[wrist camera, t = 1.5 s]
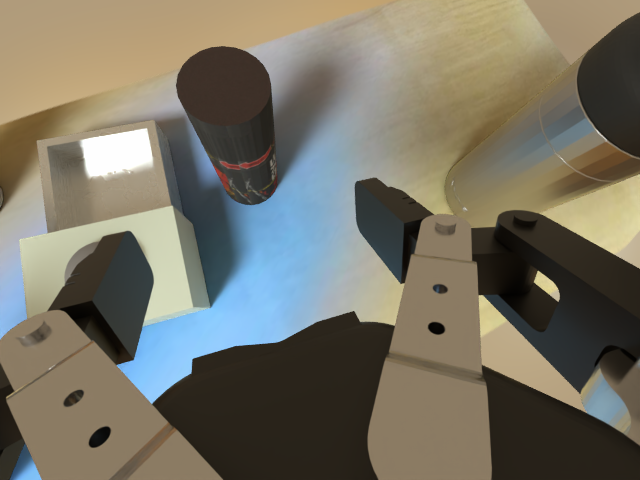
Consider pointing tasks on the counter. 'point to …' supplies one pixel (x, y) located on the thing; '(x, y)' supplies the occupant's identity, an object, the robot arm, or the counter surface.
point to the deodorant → (233, 119)
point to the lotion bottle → (1, 197)
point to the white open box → (106, 175)
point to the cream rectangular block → (156, 243)
